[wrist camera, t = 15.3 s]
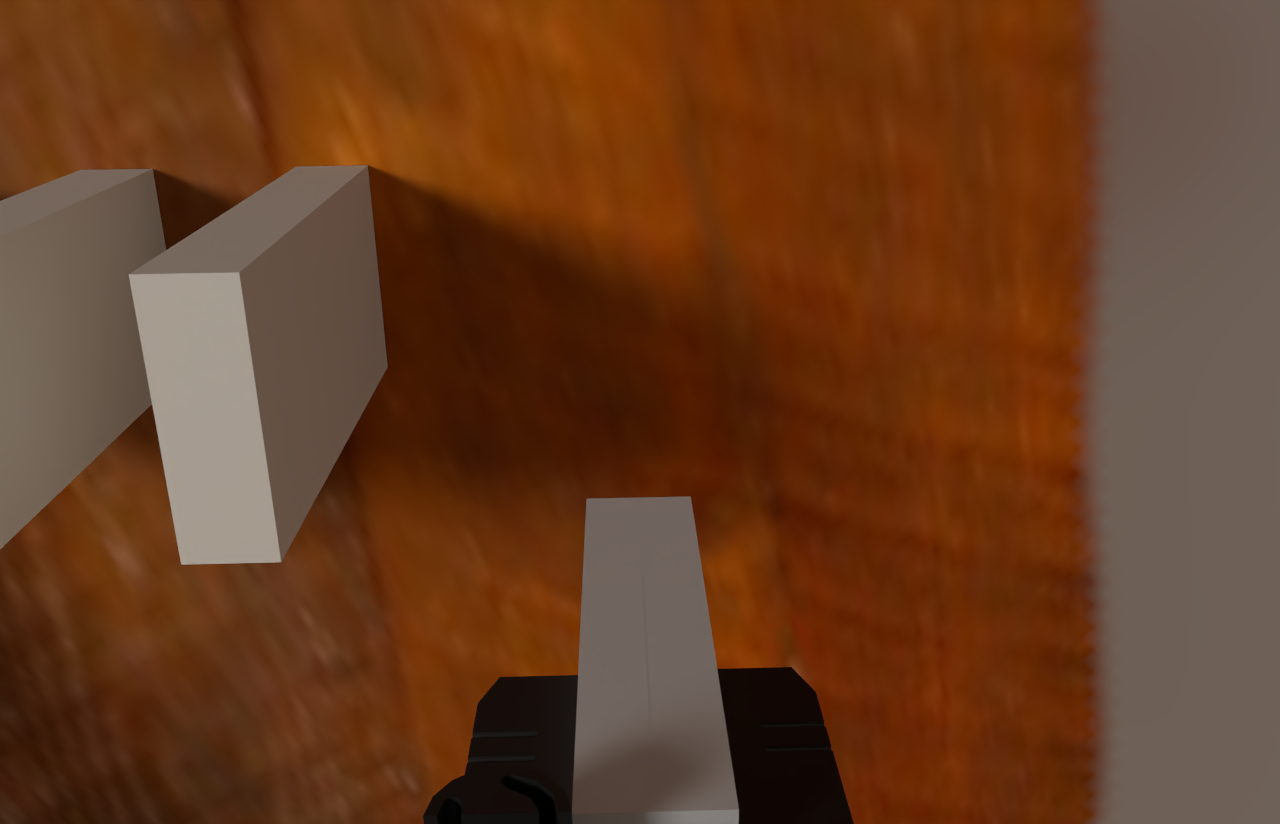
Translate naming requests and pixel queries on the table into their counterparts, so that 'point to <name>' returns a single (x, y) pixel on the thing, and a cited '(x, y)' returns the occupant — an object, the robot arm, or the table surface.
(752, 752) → the robot arm
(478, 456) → the table surface
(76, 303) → the domino
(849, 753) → the table surface
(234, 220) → the domino
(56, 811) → the table surface
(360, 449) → the table surface
